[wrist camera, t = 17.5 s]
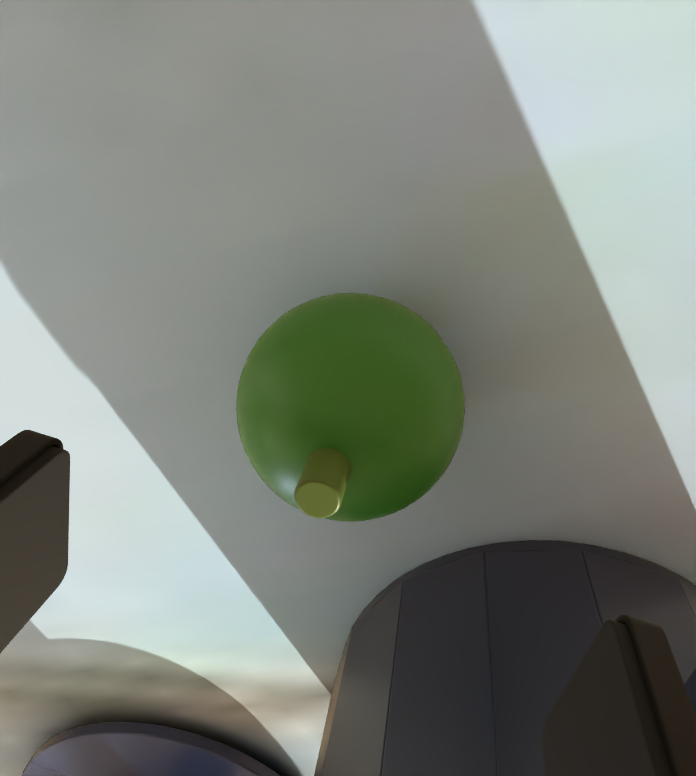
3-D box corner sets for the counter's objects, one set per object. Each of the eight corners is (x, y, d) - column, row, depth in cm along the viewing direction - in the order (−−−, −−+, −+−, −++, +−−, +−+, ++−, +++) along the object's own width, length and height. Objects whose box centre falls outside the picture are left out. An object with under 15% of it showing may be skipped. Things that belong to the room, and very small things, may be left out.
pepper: (259, 416, 20) (166, 564, 14) (291, 243, 17) (193, 328, 11) (431, 466, 20) (417, 640, 14) (491, 298, 17) (509, 418, 11)
